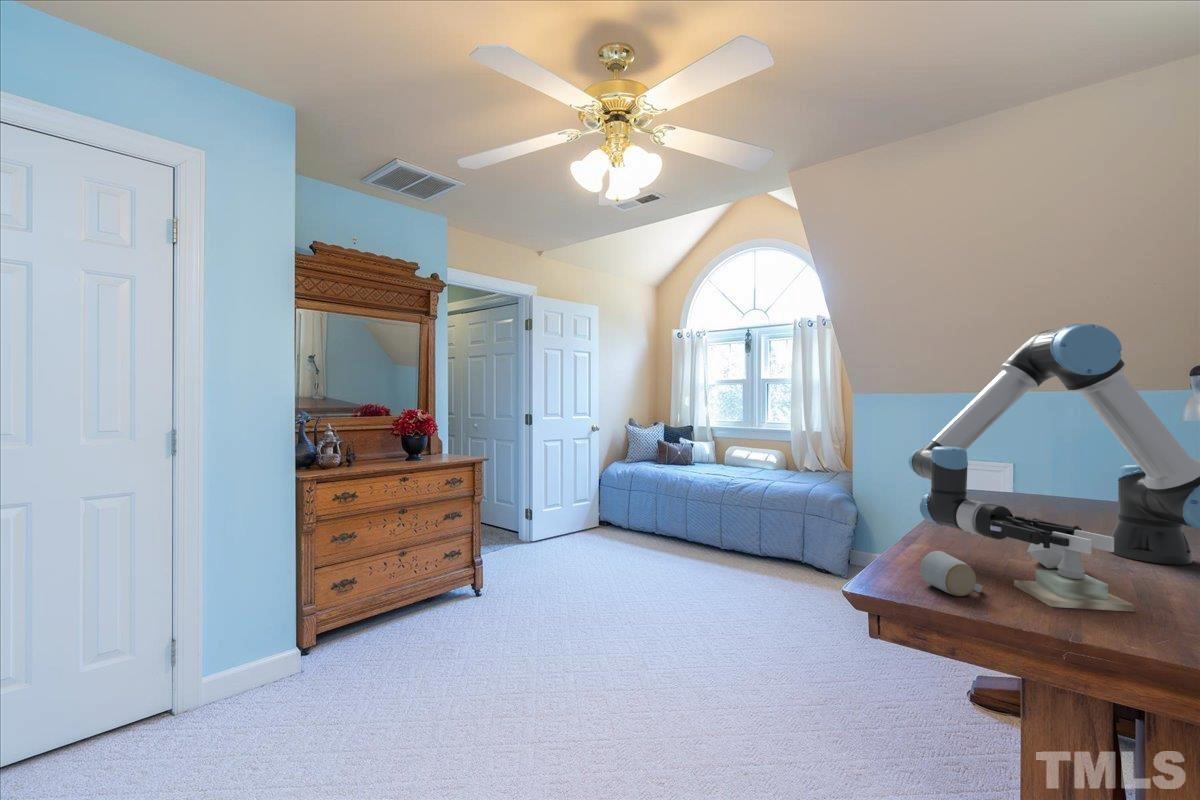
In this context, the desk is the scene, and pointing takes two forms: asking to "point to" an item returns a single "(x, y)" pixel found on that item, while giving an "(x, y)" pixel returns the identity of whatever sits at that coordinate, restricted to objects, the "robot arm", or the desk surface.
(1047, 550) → the die
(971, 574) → the ceramic mug
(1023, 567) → the desk surface
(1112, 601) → the plinth
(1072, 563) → the rook chess piece
